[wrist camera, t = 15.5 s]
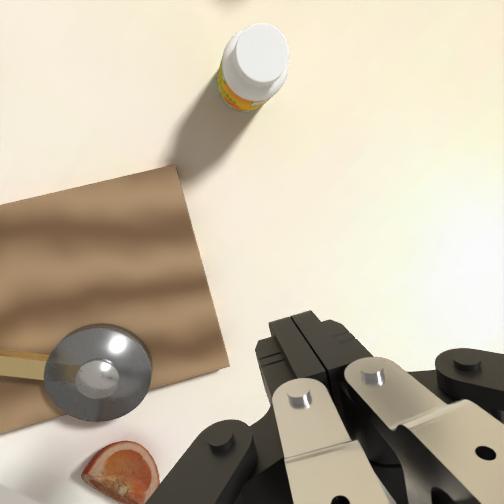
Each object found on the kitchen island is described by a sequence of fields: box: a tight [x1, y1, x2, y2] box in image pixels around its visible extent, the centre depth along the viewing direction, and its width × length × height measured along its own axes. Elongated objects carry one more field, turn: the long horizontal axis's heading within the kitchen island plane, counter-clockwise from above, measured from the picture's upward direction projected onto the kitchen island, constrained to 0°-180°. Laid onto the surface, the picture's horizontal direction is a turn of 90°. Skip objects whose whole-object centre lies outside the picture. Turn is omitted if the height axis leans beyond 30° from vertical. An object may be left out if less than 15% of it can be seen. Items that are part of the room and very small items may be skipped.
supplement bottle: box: [217, 23, 289, 112], centre depth 31 cm, size 5×5×10 cm
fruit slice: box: [81, 441, 160, 504], centre depth 40 cm, size 8×7×5 cm
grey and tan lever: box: [0, 323, 153, 422], centre depth 33 cm, size 20×10×6 cm, turn 77°
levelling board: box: [0, 165, 229, 434], centre depth 35 cm, size 22×26×5 cm
